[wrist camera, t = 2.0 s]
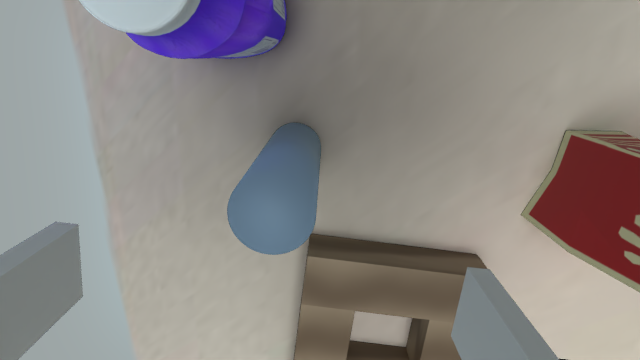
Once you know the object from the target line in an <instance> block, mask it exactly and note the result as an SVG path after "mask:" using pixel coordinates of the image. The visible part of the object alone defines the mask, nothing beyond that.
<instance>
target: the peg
mask: <svg viewBox="0 0 640 360" xmlns="http://www.w3.org/2000/svg"><path fill="white" fill-rule="evenodd" d="M320 157H321V143H320V140H319V137H318V135H317V134H316V133H315V131H314V130H313V129H311V128H310V127H309V126H307V125H304V124H301V123H288V124H285V125H283V126H281V127H280V128H279V129H277V130H276V132H275V133H274V134H273V136H272V137H271V138H270V140H269V141H268V143H267V144H266V145H265V147H264V148H263V150H262V151H261V152H260V154H259V155H258V157H257V158H256V159H255V161H254V162H253V164H252V165H251V166H250V168H249V169H248V171H247V172H246V174H245V175H244V176H243V178H242V179H241V181H240V182H239V183H238V185H237V186H236V188H235V189H234V191H233V192H232V194H231V196H230V199H229V202H228V208H227V215H228V221H229V224H230V227H231V229H232V231H233V233H234V234H235V236H236V237H237V238H238V239H239V240H240V241H241V242H242V243H243V244H244V245H246V246H247V247H249V248H250V249H252V250H254V251H257V252H260V253H264V254H272V255H275V254H283V253H287V252H290V251H292V250H294V249H296V248H298V247H299V246H301V245H302V244H303V243H304V242H305V241H306V240H307V239H308V237H309V236H310V235H311V233H312V231H313V228H314V225H315V221H316V209H317V196H318V183H319V170H320Z"/></svg>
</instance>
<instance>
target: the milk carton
mask: <svg viewBox="0 0 640 360" xmlns="http://www.w3.org/2000/svg"><path fill="white" fill-rule="evenodd" d="M521 215H522V216H523V217H524V218H526V219H527V220H528V221H530V222H531V223H532V224H533V225H535V226H536V227H537V228H538V229H540V230H541V231H542V232H543V233H545V234H546V235H547V236H548V237H550V238H551V239H552V240H553V241H555V242H556V243H557V244H558V245H560V246H561V247H562V248H564V249H565V250H566V251H567V252H569V253H571V254H572V255H574V256H576V257H578V258H580V259H581V260H583V261H585V262H587V263H588V264H590V265H592V266H594V267H596V268H597V269H599V270H601V271H603V272H604V273H606V274H608V275H610V276H612V277H613V278H615V279H617V280H619V281H620V282H622V283H624V284H626V285H628V286H629V287H631V288H633V289H635V290H636V291H638V292H640V140H639V139H637V138H635V137H632V136H630V135H628V134H625V133H623V132H615V131H566V133H565V135H564V138H563V141H562V143H561V146H560V149H559V151H558V154H557V157H556V159H555V162H554V165H553V168H552V170H551V171H550V173H549V174H548V176H547V177H546V179H545V180H544V182H543V183H542V184H541V186H540V187H539V189H538V190H537V192H536V193H535V195H534V196H533V198H532V199H531V201H530V202H529V204H528V205H527V207H526V208H525V209H524V211H523V212H522V214H521Z"/></svg>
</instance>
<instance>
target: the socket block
mask: <svg viewBox="0 0 640 360" xmlns="http://www.w3.org/2000/svg"><path fill="white" fill-rule="evenodd" d="M467 267H472V268H481V269H487V267H486V266H485V265H484V263H483V262H482V261H481V259H480V258H479V257H478V255H477V254H469V253H461V252H453V251H445V250H437V249H429V248H421V247H413V246H405V245H397V244H389V243H381V242H373V241H365V240H357V239H349V238H341V237H333V236H325V235H317V234H311V235H310V238H309V246H308V254H307V261H306V269H305V277H304V284H303V292H302V299H301V307H300V315H299V322H298V330H297V337H296V345H295V353H294V360H461V357H460V355H459V353H458V351H457V348H456V346H455V344H454V342H453V339H452V337H451V333H452V329H453V325H454V320H455V316H456V312H457V308H458V304H459V300H460V296H461V291H462V287H463V283H464V279H465V275H466V271H467ZM355 311H360V312H368V313H376V314H385V315H393V316H401V317H409V318H413V319H412V323H411V328H410V332H409V336H408V341H407V345H406V347H397V346H389V345H381V344H372V343H364V342H356V341H350V335H351V329H352V324H353V318H354V312H355Z"/></svg>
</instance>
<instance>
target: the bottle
mask: <svg viewBox="0 0 640 360" xmlns="http://www.w3.org/2000/svg"><path fill="white" fill-rule="evenodd" d="M79 1H80V3H81V4H82V5H83V6H84V8H85V9H86V10H87V11H89V12H90V13H91V14H92V15H93V16H94V17H95V18H96V19H98V20H99V21H101V22H102V23H104V24H106V25H107V26H109V27H111V28H114V29H116V30H119V31H122V32H126V34H127V35H128V36H129V37H130V38H131V39H132V40H133V41H135V42H136V43H137V44H138V45H140V46H141V47H143V48H145V49H147V50H149V51H152V52H154V53H156V54H159V55H163V56H167V57H171V58H180V59H187V58H193V59H196V58H225V59H232V58H245V57H251V56H256V55H260V54H263V53H266V52H268V51H270V50H271V49H273V48H274V47H276V46H277V45H278V43H279V42H280V41H281V39H282V37H283V35H284V32H285V28H286V20H287V14H286V4H285V0H79Z"/></svg>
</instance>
